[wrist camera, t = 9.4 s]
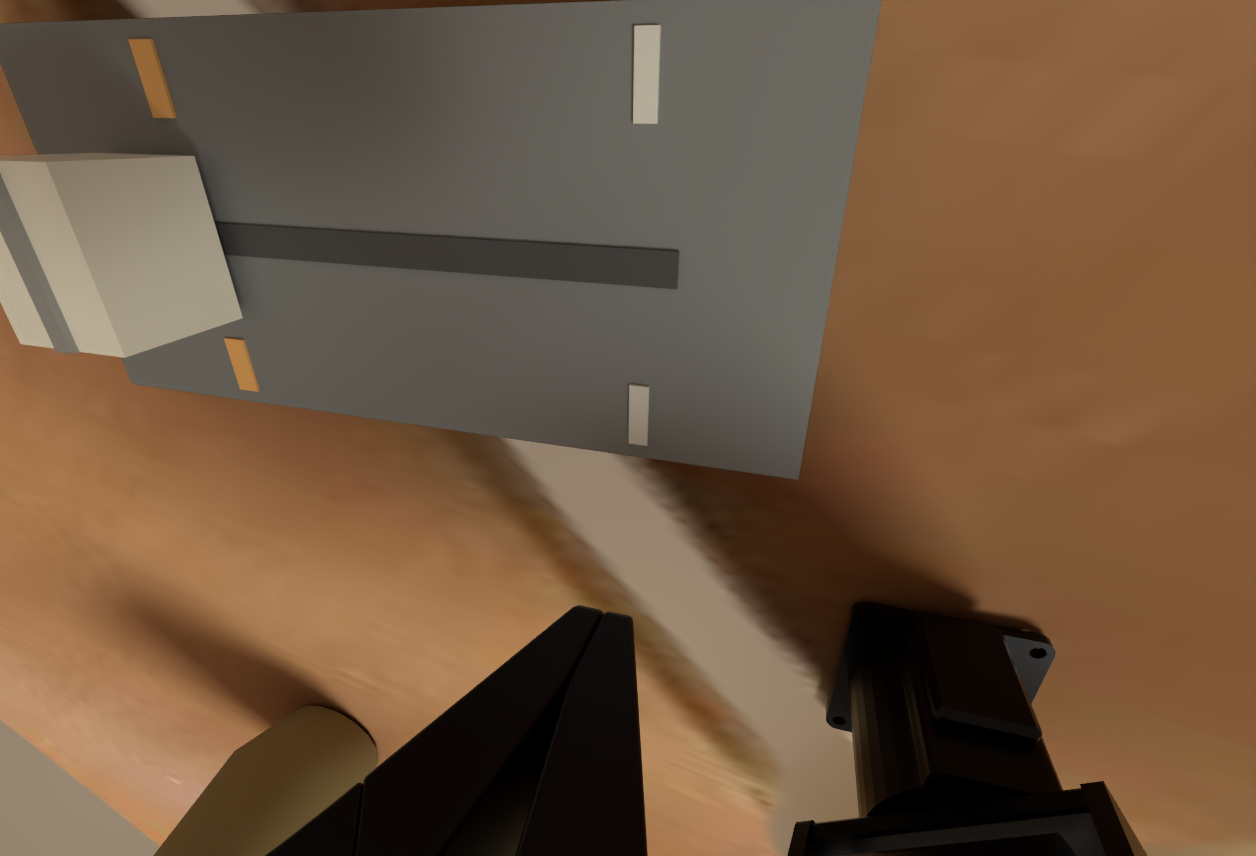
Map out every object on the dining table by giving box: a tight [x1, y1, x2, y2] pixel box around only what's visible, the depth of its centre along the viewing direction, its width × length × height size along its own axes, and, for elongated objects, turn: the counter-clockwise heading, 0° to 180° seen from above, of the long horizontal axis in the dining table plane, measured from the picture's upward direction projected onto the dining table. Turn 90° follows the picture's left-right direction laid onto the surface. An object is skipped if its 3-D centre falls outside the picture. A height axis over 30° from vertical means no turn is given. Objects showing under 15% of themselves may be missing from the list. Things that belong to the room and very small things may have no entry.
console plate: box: [0, 0, 881, 480], centre depth 19 cm, size 12×26×2 cm, turn 89°
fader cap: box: [0, 153, 243, 358], centre depth 17 cm, size 5×4×4 cm
